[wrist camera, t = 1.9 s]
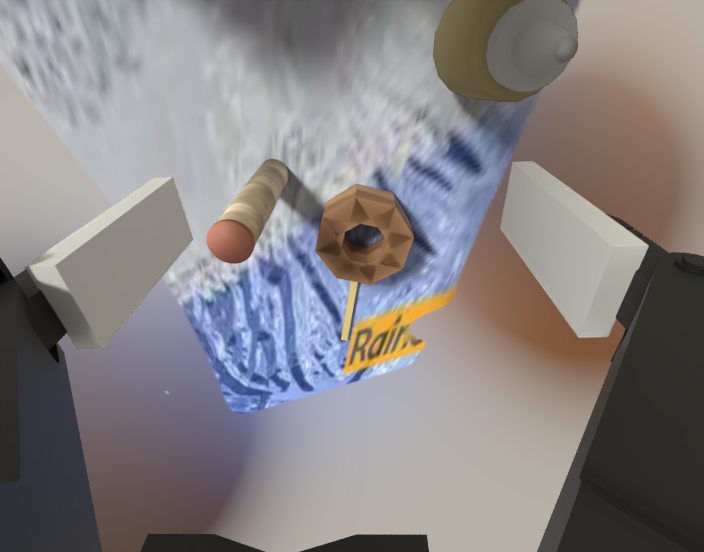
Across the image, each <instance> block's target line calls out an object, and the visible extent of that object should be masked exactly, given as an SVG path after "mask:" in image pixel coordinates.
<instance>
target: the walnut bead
mask: <svg viewBox="0 0 704 552" xmlns="http://www.w3.org/2000/svg"><path fill="white" fill-rule="evenodd" d="M359 224H365V225H369V226H374V227H378V228H379V230H380V231H381V233H382V236H381V239H380V240H378V241H376V242H375V243H373V244H371V245H369V246H367V247H366V246H362V245H357V244H352V243H351V242H350V240H349V239H348V238H347V236H346V235H345V232H346V231H348V230H350V229H352V228H353V227H355V226H357V225H359ZM413 239H414V235H413V231H412V228H411V224H410V221H409V219H408V217H407V216H406V214H405V212H404V211H403V209H402V207H401V205H400V204H399V202H398V200H397V199H396V197H395V195H394V193H393V192H389V191H385V190H381V189H376V188H372V187H368V186H363V185H359V184H355V185H354V186H352V187H350V188H349V189H347V190H345V191H344V192H342V193H340V194H339V195H337V196H335V197H334V198H332V199H330V200H329V201H327V202H325V206H324V211H323V215H322V220H321V225H320V230H319V235H318V240H317V245H316V250H315V251H316V253H317V254H318V255H319V256H320V258H321V259H322V260H323V262H324V263H325V264H326V266H327V267H328V268H329V269H330V271H331V272H332V273H333V275H334V276H335V277H336V278H339V279H344V280H349V281H354V282H359V283H364V284H369V285H372V284H374V283H376V282H378V281H380V280H382V279H384V278H386V277H388V276H390V275H392V274H394V273H396V272H398V271H400V270H402V269H403V267H404V264H405V261H406V258H407V256H408V253H409V250H410V247H411V245H412V242H413Z"/></svg>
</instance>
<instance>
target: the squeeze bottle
mask: <svg viewBox="0 0 704 552" xmlns="http://www.w3.org/2000/svg"><path fill="white" fill-rule="evenodd" d="M577 38H578V32H577V21H576V17H575V16H574V14H573V12H572V10H571V9H570V7H569V5H568V3H567V2H566V0H454V1H453V2H452V3H451V4H450V5H449V7H448V8H447V9H446V10H445V11H444V14H443V16H442V18H441V21H440V23H439V25H438V28H437V30H436V32H435V40H434V51H433V58H434V61H435V65H436V69H437V72H438V76H439V77H440V79H441V80H442V81H443V82H444V83H445V85H446V86H447V87H448V88H449V90H450V91H452V92H455V93H457V94H459V95H461V96H463V97H465V98H472V99H480V100H488V101H496V102H516V101H520V100H522V99H524V98H527V97H529V96H531V95H534V94H536V93H537V92H539V91H540V90H541V89H542V88H543V87H544V86H547V85H549V84H550V83H551V82H552V81H553V80H554V79H555V78H557V76H559V75H560V74H561V73H562V72H563V71H564V69H565V67H566V66H567V64H568V63H569V61H570V59H572V58H573V57H574V55H575V53H576V52H577V48H578V41H577Z"/></svg>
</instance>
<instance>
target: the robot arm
mask: <svg viewBox="0 0 704 552" xmlns="http://www.w3.org/2000/svg"><path fill="white" fill-rule="evenodd" d="M500 229H501V230H502V232H503V233H504V235H505V236H506V237H507V239H508V240H509V242H510V243H511V244H512V245H513V247H514V249H515V250H516V251H517V253H518V254H519V255H520V257H521V258H522V260H523V261H524V262H525V264H526V265H527V267H528V268H529V269H530V271H531V272H532V274H533V275H534V276H535V278H536V279H537V281H538V282H539V283H540V285H541V286H542V287H543V289H544V290H545V292H546V293H547V294H548V296H549V297H550V299H551V300H552V301H553V303H554V304H555V305H556V307H557V308H558V310H559V311H560V312H561V314H562V315H563V316H564V318H565V320H566V321H567V322H568V324H569V325H570V326H571V328H572V329H573V330H574V332H575V333H576V335H577V336H578V338H589V337H608V336H609V334H610V331H611V330H612V327H613V325H614V323H615V321H616V319H617V320H618V321H619V322H620V323H621V324H622V325H623V326H624V327H625V328H626V330H625V333H624V335H623V337H622V339H621V341H620V343H619V345H618V347H617V349H616V351H615V353H614V355H613V357H612V360H611V361H612V363H611V366H610V369H609V371H608V374H607V376H606V379H605V381H604V384H603V386H602V389H601V391H600V394H599V396H598V399H597V401H596V404H595V406H594V409H593V412H592V414H591V417H590V419H589V422H588V424H587V427H586V429H585V432H584V434H583V437H582V439H581V442H580V444H579V447H578V449H577V452H576V455H575V457H574V460H573V462H572V465H571V467H570V470H569V472H568V475H567V477H566V480H565V483H564V485H563V488H562V490H561V493H560V495H559V498H558V500H557V503H556V505H555V508H554V510H553V513H552V515H551V518H550V520H549V523H548V526H547V528H546V530H545V533H544V536H543V538H542V541H541V543H540V546H539V548H538V551H537V552H704V257H703V256H700V255H696V254H690V253H674V252H672V253H668V252H667V251H665V250H664V249H663V248H661V247H660V246H658V245H657V244H656V243H654V242H653V241H651V240H650V239H648V238H647V237H645V236H643V234H641V233H640V232H639V231H637V230H633V227H632V226H630V225H629V224H627V223H626V222H624V221H623V220H621V219H618V218H616V217H614V216H611V215H609V214H606V213H603V212H602V211H601V210H599V209H598V208H597V207H595V206H594V205H593V204H591V203H590V202H588V201H587V200H586V199H584V198H583V197H582V196H580V195H579V194H577V193H576V192H575V191H573V190H572V189H571V188H569V187H568V186H566V185H565V184H564V183H562V182H561V181H560V180H558V179H557V178H555V177H554V176H553V175H551V174H550V173H549V172H547V171H546V170H545V169H543V168H542V167H540V166H539V165H537V164H536V163H535V162H534V161H525V162H512V167H511V172H510V177H509V184H508V188H507V194H506V199H505V204H504V210H503V215H502V220H501V225H500ZM192 240H193V237H192V234H191V231H190V228H189V225H188V222H187V219H186V216H185V213H184V210H183V207H182V204H181V200H180V197H179V194H178V191H177V188H176V185H175V182H174V179H173V177H164V178H153V179H152V180H150V181H149V182H147V183H146V184H144V185H143V186H141V187H140V188H139V189H137V190H136V191H134V192H133V193H131V194H130V195H128V196H127V197H125V198H124V199H122V200H121V201H120V202H118V203H117V204H115V205H114V206H112V207H111V208H109V209H108V210H106V211H105V212H104V213H102V214H101V215H99V216H98V217H96V218H95V219H93V220H92V221H91V222H89V223H87V224H86V225H85V226H83V227H82V228H80V229H79V230H77V231H76V232H74V233H73V234H71V235H70V236H68V237H67V238H66V239H64V240H63V241H61V242H60V243H58V244H57V245H55V246H54V247H52V248H51V249H50V250H48V251H47V252H45V253H44V254H42V255H41V256H39V257H38V258H36V259H35V260H33V261H32V262H31V263H29V264H28V265H26V266H25V268H26V269H25V270H24V271H23V272H21V273H20V274H18V275H17V276H15V277H13V276H12V274H11V273H10V271H9V270H8V268H7V267H6V265H5V264H4V262H3V261H2V259H1V258H0V552H102V549H101V544H100V539H99V533H98V528H97V523H96V518H95V512H94V507H93V502H92V497H91V492H90V487H89V481H88V476H87V470H86V465H85V460H84V455H83V449H82V444H81V439H80V434H79V429H78V424H77V418H76V413H75V408H74V402H73V397H72V392H71V387H70V382H69V376H68V371H67V366H66V360H65V355H64V352H63V350H62V349H61V347H60V346H59V344H58V343H57V342H58V341H59V340H60V339H61V338H62V337H63V336H64V335H65V334H66V333H67V334H68V336H69V337H70V339H71V340H72V342H73V343H74V345H75V347H76V348H77V349H94V348H104V347H105V345H106V344H107V343H108V342H109V340H110V339H111V338H112V337H113V336H114V334H115V333H116V332H117V331H118V329H119V328H120V327H121V326H122V325H123V324H124V322H125V321H126V320H127V319H128V317H129V316H130V315H131V314H132V313H133V311H134V310H135V309H136V308H137V307H138V305H139V304H140V303H141V302H142V301H143V299H144V298H145V297H146V296H147V294H148V293H149V292H150V291H151V290H152V288H153V287H154V286H155V285H156V284H157V282H158V281H159V280H160V279H161V278H162V276H163V275H164V274H165V273H166V272H167V270H168V269H169V268H170V267H171V266H172V264H173V263H174V262H175V261H176V260H177V258H178V257H179V256H180V255H181V253H182V252H183V251H184V250H185V249H186V247H187V246H188V245H189V244H190V243H191V241H192ZM141 552H264V551H261V550H259V549H255V548H253V547H249V546H247V545H244V544H241V543H238V542H235V541H232V540H230V539H227V538H224V537H221V536H218V535H215V534H148V535H147V538H146V540H145V542H144V545H143V547H142V549H141ZM301 552H429V549H428V541H427V535H354V536H350V537H347V538H344V539H340V540H337V541H334V542H331V543H327V544H324V545H321V546H317V547H314V548H311V549H307V550H304V551H301Z"/></svg>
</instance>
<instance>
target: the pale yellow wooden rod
mask: <svg viewBox="0 0 704 552" xmlns="http://www.w3.org/2000/svg"><path fill="white" fill-rule="evenodd" d="M357 284H358V282H354V281H351V282H350V288H349V294H348V300H347V306H346V312H345V318H344V324H343V330H342V336H341V340H348V335H349V329H350V323H351V318H352V312H353V307H354V301H355V296H356V290H357Z"/></svg>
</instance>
